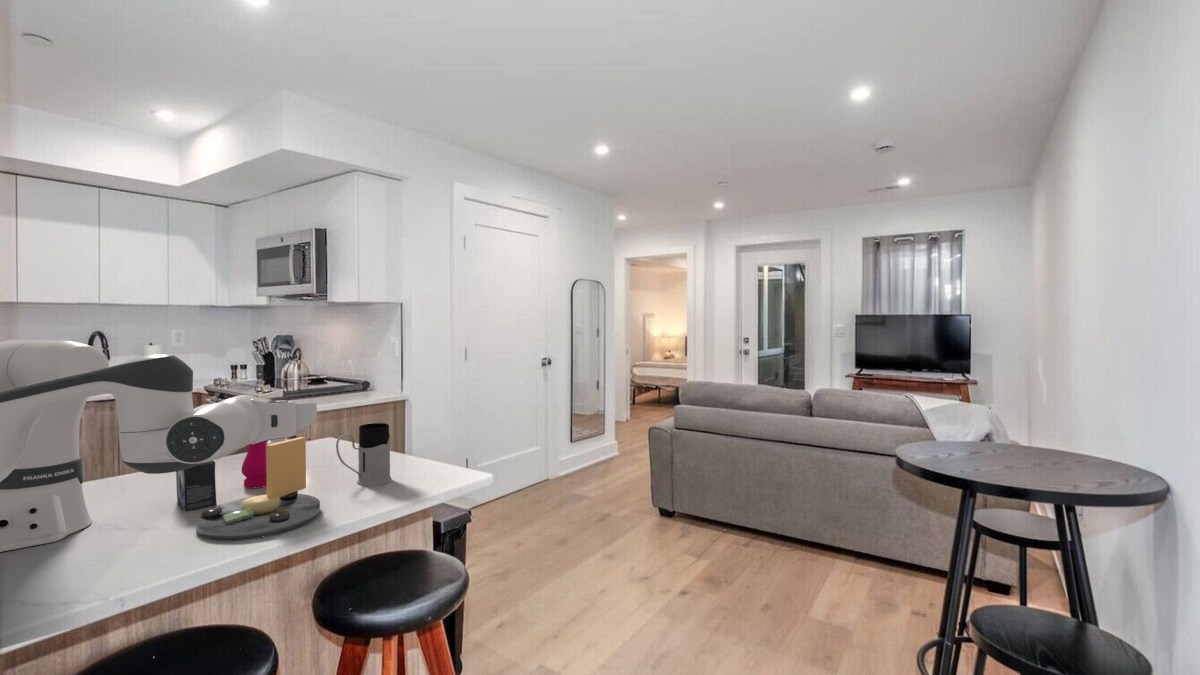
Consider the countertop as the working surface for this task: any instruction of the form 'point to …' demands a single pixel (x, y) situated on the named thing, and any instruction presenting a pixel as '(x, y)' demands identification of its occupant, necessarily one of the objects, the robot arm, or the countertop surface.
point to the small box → (197, 486)
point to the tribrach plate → (256, 518)
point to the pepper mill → (255, 465)
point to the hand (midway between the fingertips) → (272, 407)
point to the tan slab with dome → (281, 474)
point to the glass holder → (372, 454)
